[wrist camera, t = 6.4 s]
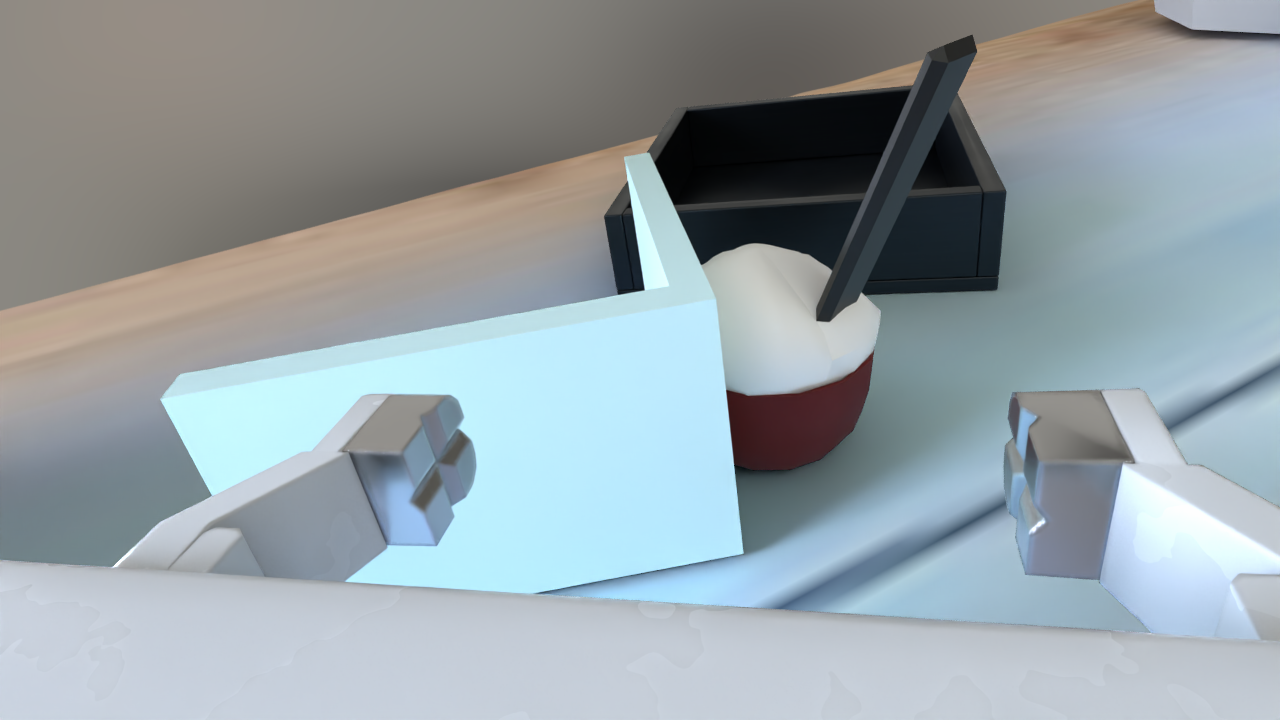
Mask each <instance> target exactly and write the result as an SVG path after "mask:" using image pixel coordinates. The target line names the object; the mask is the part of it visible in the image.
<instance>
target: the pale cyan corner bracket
mask: <svg viewBox="0 0 1280 720" xmlns="http://www.w3.org/2000/svg"><path fill="white" fill-rule="evenodd" d="M624 159H625V165H626V172H627V178H628V184H629V191H630V197H631V204H632V210H633V216H634V223H635V229H636V236H637V242H638V248H639V255H640V261H641V268H642V274H643V280H644V287H645V290H644V291H639V292H633V293H627V294H622V295H616V296H611V297H605V298H600V299H594V300H589V301H583V302H578V303H572V304H566V305H561V306H555V307H550V308H544V309H539V310H533V311H528V312H522V313H516V314H511V315H505V316H500V317H494V318H489V319H483V320H478V321H472V322H466V323H461V324H455V325H450V326H444V327H439V328H433V329H428V330H422V331H417V332H411V333H405V334H400V335H394V336H389V337H383V338H378V339H372V340H367V341H361V342H355V343H350V344H344V345H339V346H333V347H328V348H322V349H317V350H311V351H305V352H300V353H294V354H289V355H283V356H278V357H272V358H267V359H261V360H256V361H250V362H244V363H239V364H233V365H228V366H222V367H217V368H211V369H206V370H200V371H194V372H189V373H183V374H179V376H178V377H177V378H176V379H175V381H174V382H173V383H172V385H171V386H170V387H169V388H168V390H167V391H166V392H165V394H164V395H163V396H162V397H161V399H160V400H161V402H162V403H163V405H164V407H165V409H166V411H167V413H168V415H169V416H170V418H171V420H172V422H173V424H174V426H175V428H176V430H177V431H178V433H179V435H180V437H181V439H182V441H183V443H184V444H185V446H186V448H187V450H188V452H189V454H190V456H191V457H192V459H193V461H194V463H195V465H196V467H197V469H198V470H199V472H200V474H201V476H202V478H203V480H204V482H205V484H206V485H207V487H208V489H209V491H210V493H211V495H212V496H213V495H215V494H218V493H220V492H222V491H224V490H226V489H228V488H230V487H232V486H234V485H236V484H238V483H240V482H242V481H244V480H246V479H248V478H250V477H252V476H254V475H256V474H258V473H260V472H262V471H264V470H266V469H268V468H270V467H272V466H274V465H276V464H278V463H280V462H282V461H284V460H286V459H288V458H290V457H292V456H294V455H296V454H298V453H300V452H311V451H312V450H313V449H314V447H315V446H316V445H317V444H318V443H319V442H320V441H321V440H322V439H323V438H324V437H325V435H326V434H327V433H328V432H329V431H330V430H331V429H332V428H333V427H334V426H335V425H336V423H337V422H338V421H339V420H340V419H341V418H342V417H343V416H344V415H345V414H346V413H347V411H348V410H349V409H350V408H351V407H352V406H353V405H354V404H355V403H356V402H357V401H358V399H359V398H360V397H361V396H364V395H368V394H440V395H452V396H453V397H455V398H456V399H458V401H459V403H460V406H461V409H462V412H463V415H464V419H463V422H462V424H461V426H460V428H459V429H460V430H461V431H462V432H464V433H465V434H466V435H467V436H468V437H469V438H470V439H471V440H472V443H473V446H474V450H475V453H476V465H477V468H476V473H475V478H474V484H473V486H472V488H471V489H470V491H469V493H468V495H467V497H466V498H464V499H463V500H461V501H459V502H458V503H456V504H455V505H453V506H452V510H453V513H454V516H455V517H454V519H453V520H452V522H451V524H450V525H449V527H448V529H447V530H446V532H445V534H444V535H443V537H442V539H441V540H440V542H439V544H438V545H437V546H394V545H387V547H388V548H387V549H386V550H384V551H383V552H382V553H381V554H379V555H378V556H377V557H375V558H374V559H373V560H372V561H370V562H369V563H368V564H366V565H365V566H364V567H363V568H361V569H360V570H359V571H358V572H356V573H355V574H354V575H352V576H351V577H350V578H349V579H347V580H346V581H345V582H355V583H371V584H387V585H403V586H418V587H434V588H450V589H466V590H482V591H497V592H513V593H529V594H533V593H538V592H544V591H549V590H554V589H560V588H565V587H570V586H576V585H581V584H586V583H591V582H597V581H602V580H607V579H613V578H618V577H623V576H629V575H634V574H639V573H644V572H650V571H655V570H660V569H666V568H671V567H676V566H681V565H687V564H692V563H697V562H703V561H708V560H713V559H719V558H724V557H729V556H734V555H740V554H743V545H742V535H741V526H740V517H739V507H738V498H737V489H736V479H735V470H734V461H733V451H732V442H731V433H730V423H729V414H728V404H727V395H726V386H725V376H724V367H723V358H722V348H721V339H720V330H719V320H718V311H717V301H716V297H715V295H714V293H713V291H712V288H711V286H710V284H709V282H708V280H707V277H706V275H705V273H704V271H703V269H702V267H701V264H700V262H699V260H698V258H697V256H696V254H695V251H694V249H693V247H692V245H691V243H690V240H689V238H688V236H687V234H686V232H685V230H684V227H683V225H682V223H681V221H680V219H679V216H678V214H677V212H676V210H675V208H674V206H673V203H672V201H671V199H670V197H669V195H668V192H667V190H666V188H665V186H664V184H663V182H662V179H661V177H660V175H659V173H658V171H657V168H656V166H655V164H654V162H653V160H652V158H651V155H650V153H644V154H638V155H632V156H627V157H624Z"/></svg>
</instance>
